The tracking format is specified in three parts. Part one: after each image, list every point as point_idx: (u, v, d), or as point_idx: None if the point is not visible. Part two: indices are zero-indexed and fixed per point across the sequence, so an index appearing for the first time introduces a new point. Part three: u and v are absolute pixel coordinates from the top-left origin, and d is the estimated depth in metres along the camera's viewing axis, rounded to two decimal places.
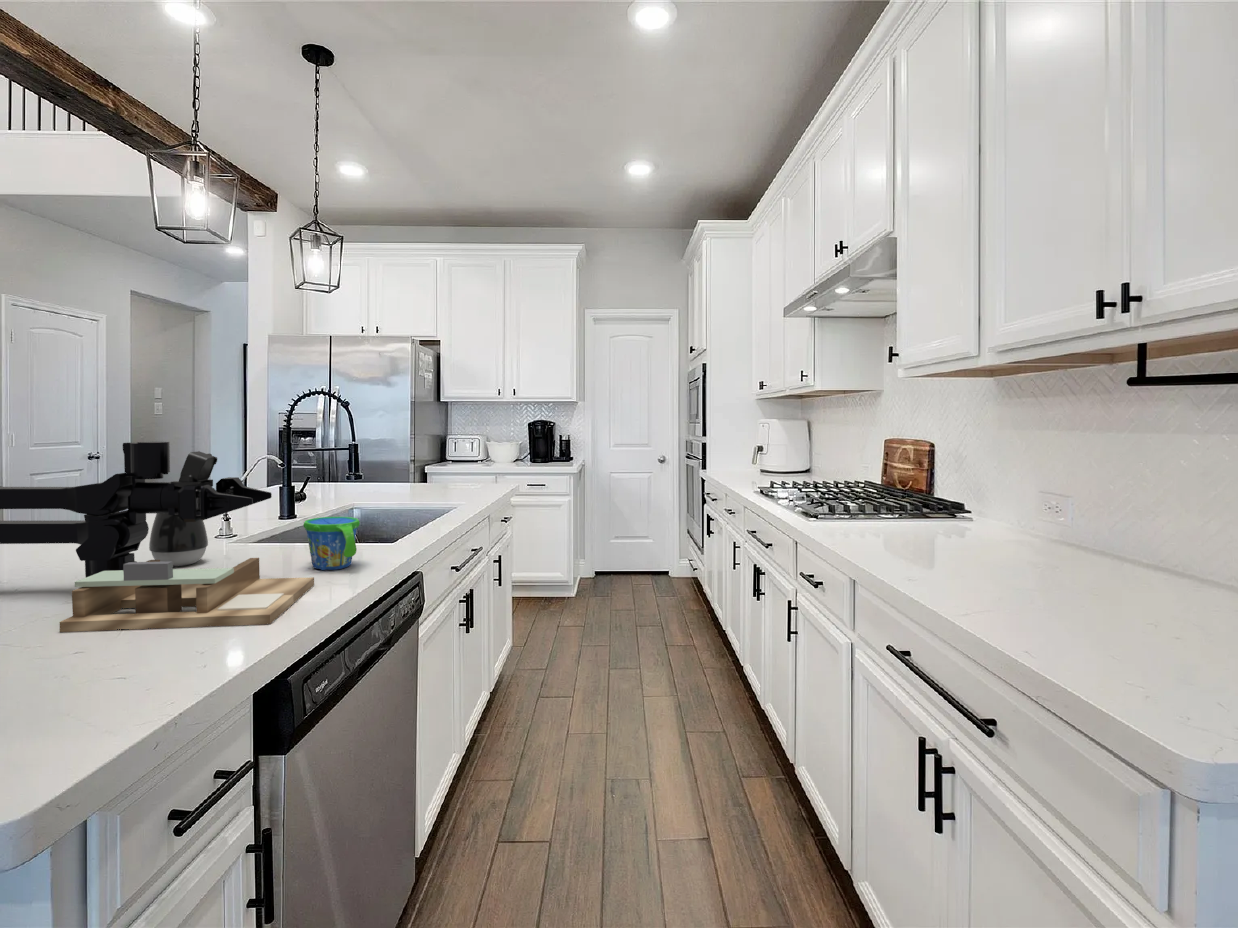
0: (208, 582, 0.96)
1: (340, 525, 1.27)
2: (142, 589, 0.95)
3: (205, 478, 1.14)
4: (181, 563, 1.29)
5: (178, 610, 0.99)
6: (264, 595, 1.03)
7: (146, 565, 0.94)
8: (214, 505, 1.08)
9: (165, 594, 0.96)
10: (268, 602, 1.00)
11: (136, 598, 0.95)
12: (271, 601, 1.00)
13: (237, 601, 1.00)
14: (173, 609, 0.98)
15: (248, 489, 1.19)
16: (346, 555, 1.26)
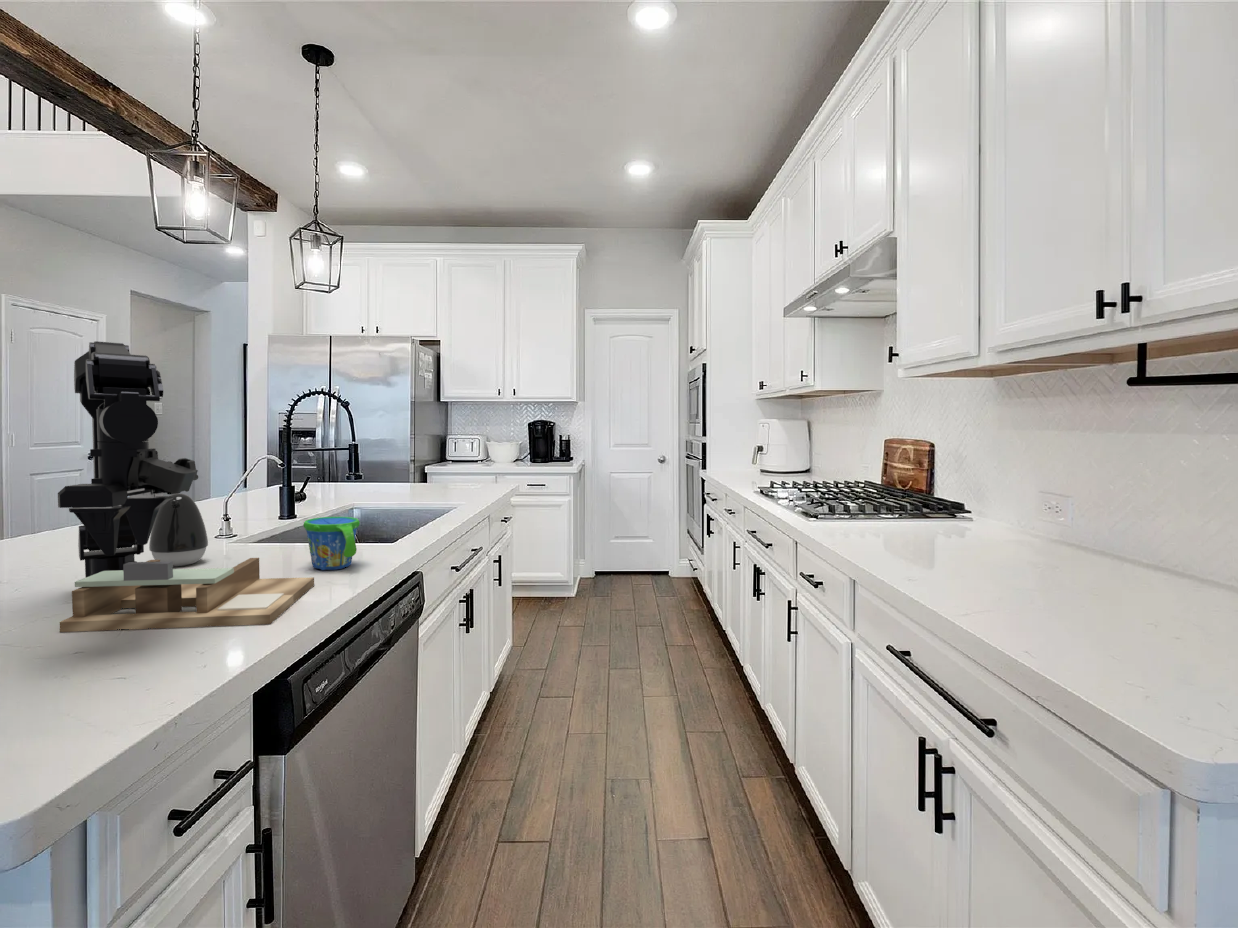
0: (208, 582, 0.96)
1: (340, 525, 1.27)
2: (142, 589, 0.95)
3: None
4: (181, 563, 1.29)
5: (178, 610, 0.99)
6: (264, 595, 1.03)
7: (146, 565, 0.94)
8: (97, 515, 0.83)
9: (165, 594, 0.96)
10: (268, 602, 1.00)
11: (136, 598, 0.95)
12: (271, 601, 1.00)
13: (237, 601, 1.00)
14: (173, 609, 0.98)
15: (150, 517, 0.93)
16: (346, 555, 1.26)
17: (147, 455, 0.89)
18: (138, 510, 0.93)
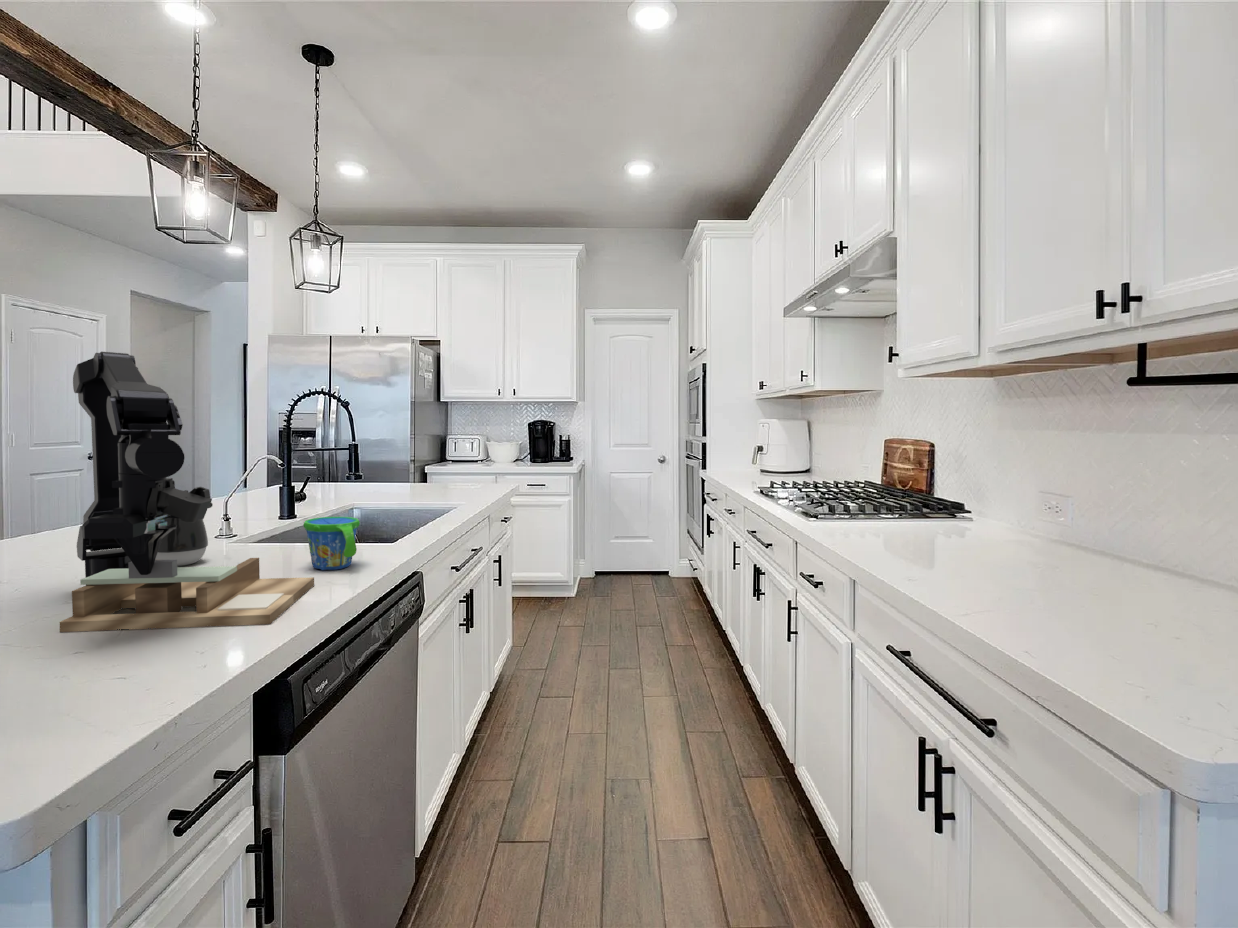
0: (212, 580, 0.97)
1: (340, 525, 1.27)
2: (142, 589, 0.95)
3: None
4: (181, 563, 1.29)
5: (178, 610, 0.99)
6: (264, 595, 1.03)
7: None
8: (134, 539, 0.92)
9: (165, 594, 0.96)
10: (268, 602, 1.00)
11: (136, 598, 0.95)
12: (271, 601, 1.00)
13: (237, 601, 1.00)
14: (173, 609, 0.98)
15: (154, 547, 0.94)
16: (346, 555, 1.26)
17: (165, 486, 0.94)
18: None
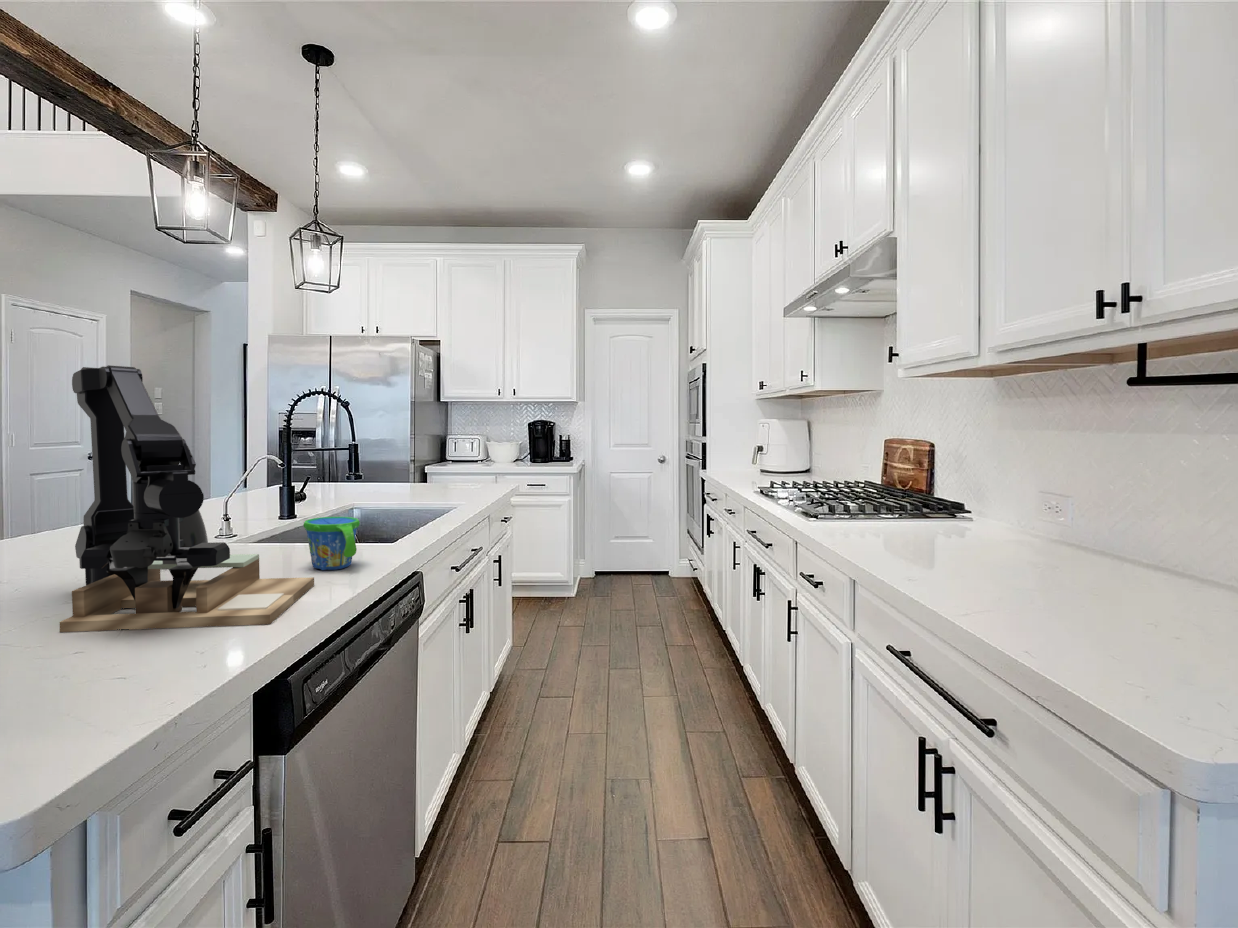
0: (237, 566, 1.06)
1: (340, 525, 1.27)
2: (142, 589, 0.95)
3: None
4: None
5: (178, 610, 0.99)
6: (264, 595, 1.03)
7: None
8: None
9: (165, 594, 0.96)
10: (268, 602, 1.00)
11: (136, 598, 0.95)
12: (271, 601, 1.00)
13: (237, 601, 1.00)
14: (173, 609, 0.98)
15: None
16: (346, 555, 1.26)
17: (150, 526, 0.94)
18: None
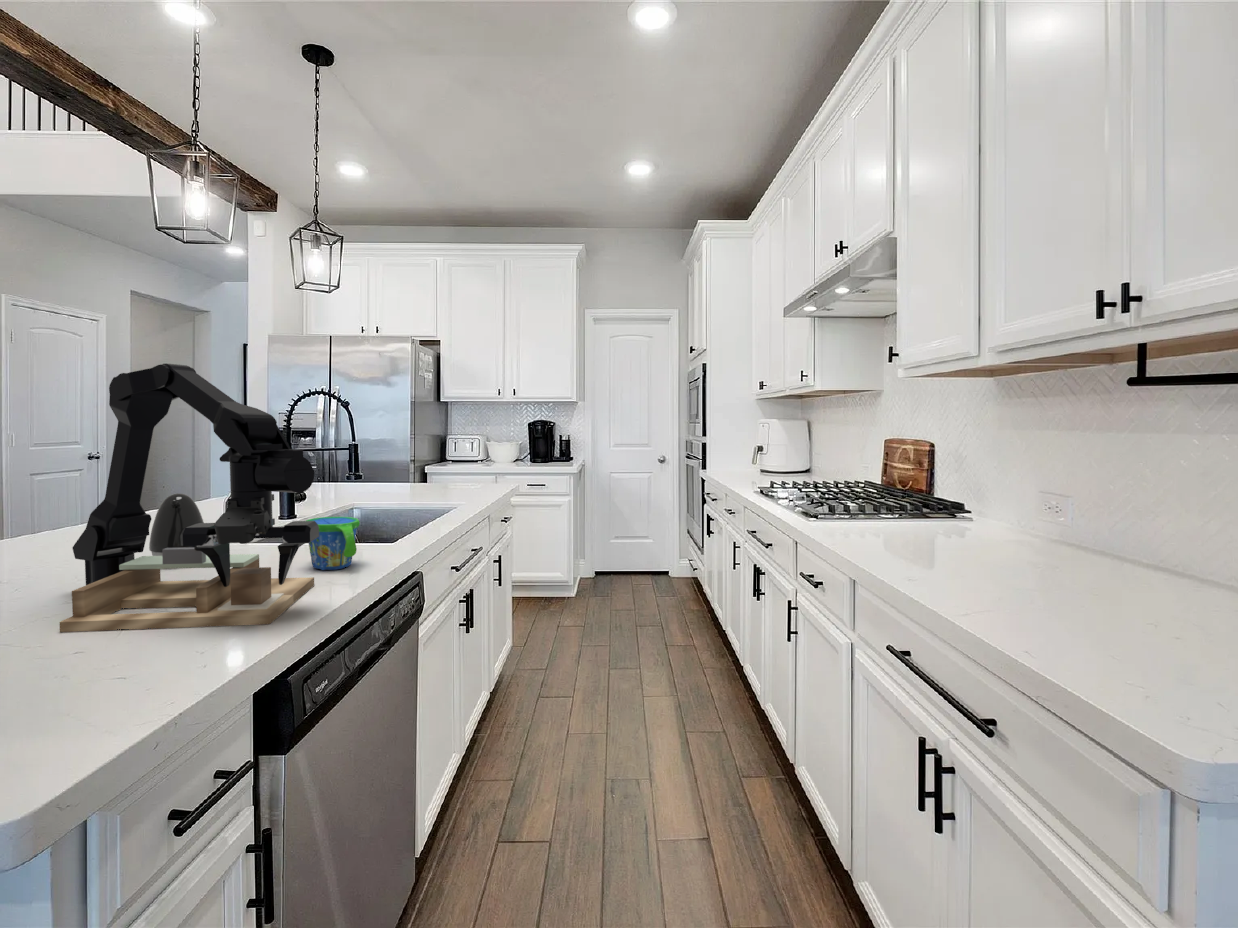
0: (237, 566, 1.06)
1: (340, 525, 1.27)
2: (237, 575, 0.97)
3: None
4: None
5: (268, 596, 1.02)
6: None
7: (182, 550, 1.05)
8: None
9: (258, 580, 0.98)
10: (268, 602, 1.00)
11: (231, 583, 0.97)
12: (271, 601, 1.00)
13: None
14: (265, 595, 1.00)
15: None
16: (346, 555, 1.26)
17: (247, 504, 0.97)
18: None
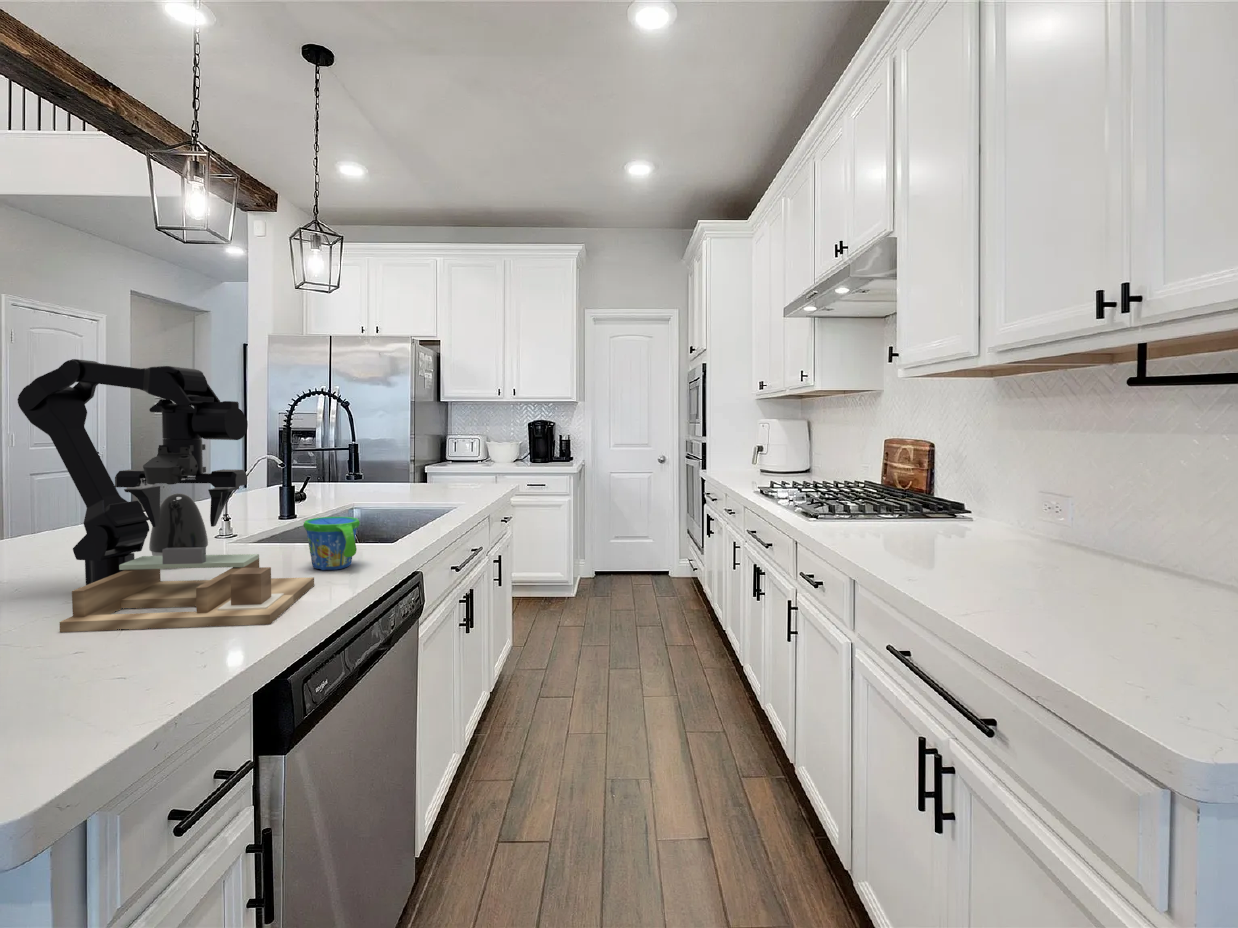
0: (237, 566, 1.06)
1: (340, 525, 1.27)
2: (237, 575, 0.97)
3: None
4: None
5: (268, 596, 1.02)
6: None
7: (182, 550, 1.05)
8: None
9: (258, 580, 0.98)
10: (268, 602, 1.00)
11: (231, 583, 0.97)
12: (271, 601, 1.00)
13: None
14: (265, 595, 1.00)
15: (211, 504, 1.09)
16: (346, 555, 1.26)
17: (177, 451, 1.06)
18: None
